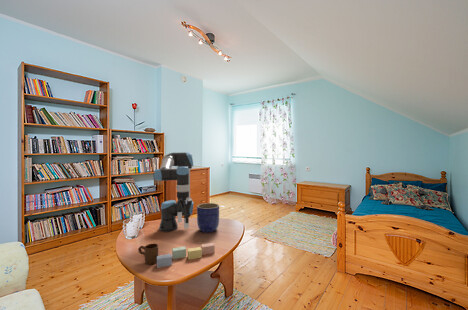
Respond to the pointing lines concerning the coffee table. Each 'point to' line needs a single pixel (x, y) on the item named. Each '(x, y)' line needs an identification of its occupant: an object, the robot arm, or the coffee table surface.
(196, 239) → the coffee table surface
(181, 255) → the sage brick
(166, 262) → the slate brick
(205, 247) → the terracotta brick
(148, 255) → the mug
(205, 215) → the planter
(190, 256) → the mustard brick
